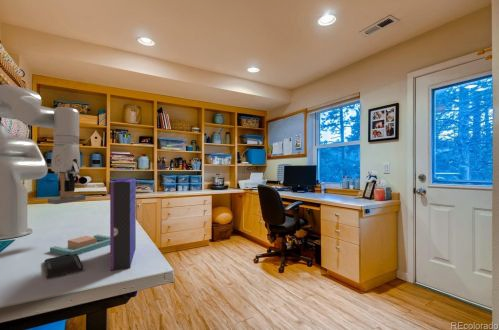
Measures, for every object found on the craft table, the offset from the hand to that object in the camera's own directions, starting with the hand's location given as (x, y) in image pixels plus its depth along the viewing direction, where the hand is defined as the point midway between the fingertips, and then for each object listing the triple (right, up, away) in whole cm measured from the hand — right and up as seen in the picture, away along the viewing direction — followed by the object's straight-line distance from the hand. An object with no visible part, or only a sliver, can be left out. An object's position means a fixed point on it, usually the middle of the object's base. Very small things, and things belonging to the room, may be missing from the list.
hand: (66, 190), depth 89 cm
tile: (+10, -19, -5) cm, 22 cm away
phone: (+15, -20, -21) cm, 33 cm away
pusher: (0, -4, 0) cm, 4 cm away
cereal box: (+29, -19, -15) cm, 38 cm away
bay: (+10, -19, -5) cm, 22 cm away
